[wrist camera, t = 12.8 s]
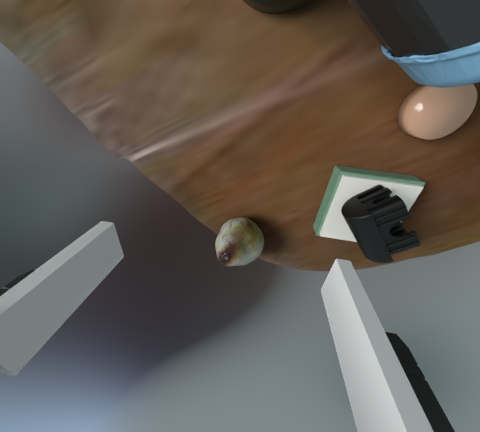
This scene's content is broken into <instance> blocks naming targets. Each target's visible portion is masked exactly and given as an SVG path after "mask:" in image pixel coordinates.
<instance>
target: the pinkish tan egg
mask: <svg viewBox="0 0 480 432" xmlns="http://www.w3.org/2000/svg"><path fill="white" fill-rule="evenodd" d="M476 102H477V90H476V87H475V86H474V84H470V85H464V86H458V87H448V88H436V87H431V86H428V85H420V86H419V87H417V88H416V89H414V90H413V91H412V92H411V93H410V94H409V95H408V96H407V97H406V98H405V100H404V101H403V103H402V104H401V106H400V108H399V111H398V115H397V123H398V126H399V128H400V130H401V131H402V132H403V133H405V134H408V135H411V136H415V137H418V138H422V139H428V140H431V139H438V138H441V137H444V136H446V135H448V134H450V133H452V132H454V131H455V130H456V129H458V128H459V127H460V126H461V125H462V124H463V123H464V122H465V121H466V120H467V119H468V118H469V116H470V115H471V113H472V112H473V110H474V108H475V105H476Z"/></svg>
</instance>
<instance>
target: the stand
mask: <svg viewBox="0 0 480 432" xmlns="http://www.w3.org/2000/svg"><path fill="white" fill-rule="evenodd" d="M425 183H426V182H424V181H422V180H420V179H418V178H417V177H415V176H413V175H405V174H398V173H390V172H382V171H375V170H367V169H360V168H352V167H344V166H337V165H335V167H334V170H333V173H332V175H331V178H330V181H329V184H328V187H327V189H326V192H325V195H324V198H323V200H322V203H321V206H320V209H319V211H318V214H317V217H316V220H315V222H314V225H313V227H314V230H315V233H316V235H317V236H322V237H328V238H335V239H341V240H348V241H354V242H357V241H356V239H355V237H354V235H353V234H352V232H351V230H350V228H349V226H348V224H347V222H346V221H345V219H344V217H343V215H342V213H341V209H342V206H343V204H344V203H345V202H346V201H347V200H348V199H350V198H351V197H353V196H355V195H357V194H359V193H361V192H363V191H366V190H368V189H370V188H372V187H374V186H376V185H379V184H380V185H382V186H384V188H386V187H387V188H388V189H390V190H391V191H392V193H391V194H390V197H392V196H395V195H397V196H399V197H400V198H401V199H402V200H403V201H404V203H405V205H406V208H407V210H408V211H409V209H410V208H411V206H412V205H413V203H414V202H415V200H416V199H417V197H418V196H419V194H420V193H421V191H422V189H423V188H424V187H423V186H424V185H425ZM400 222H402V221H400Z"/></svg>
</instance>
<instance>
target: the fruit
mask: <svg viewBox="0 0 480 432" xmlns="http://www.w3.org/2000/svg"><path fill="white" fill-rule="evenodd" d="M215 245H216V253H217V257H218V260H219V261H220V263H222V264H223V265H225V266H234V265H246V264H248V263H250V262H252V261H254V260H255V259H256V258H257V257H258V256H259V255H260V254H261V252H262V250H263V246H264V237H263V234H262V232H261V230H260V229H259V227H258V226H257V225H256V224H255V223H254V222H253V221H251V220H250V219H249V218H246V217H241V218H233V219H230V220H228V221H227V222H226V223H225V224H224V225H223V226H222V228H221V230H220V233H219V235H218V237H217V239H216V243H215Z"/></svg>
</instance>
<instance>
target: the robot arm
mask: <svg viewBox="0 0 480 432" xmlns="http://www.w3.org/2000/svg"><path fill="white" fill-rule="evenodd" d="M243 1H245V2H246V3H247V4H248V5H250V6H251V7H253V8H255V9H257V10H259V11H262V12H266V13H283V12H287V11H290V10H293V9H295V8H297V7H299V6H300V5H302V4H304V3H305V2H307V1H308V0H243ZM347 2H348V3H349V4H350V5H351V7H352V8H353V9H354V11H355V12H356V13H357V14H358V16H359V17H360V18H361V19H362V21H363V22H364V23H365V25H366V26H367V27H368V28H369V30H370V31H371V32H372V33H373V35H374V36H375V37H376V39H377V40H378V41H379V42H380V44H381V45H382V48H381V50H382V52H383V53H384V55H385V56H386V57H387V58H389V59H391V60H393V61H395V62H397V63H398V65H399V66H400V67H401V68H402V69H403V70H404V71H405V72H406V73H407V75H408V76H409V77H410V78H411V79H412V80H413V81H415V82H417V83H419V84H421V85H428V86H431V87H436V88H448V87H458V86H464V85H470V84H474V83H479V82H480V0H347ZM123 257H124V255H123V252H122V249H121V246H120V242H119V239H118V236H117V232H116V229H115V226H114V223H110V222H104V221H101V222H100V223H99V224H97V225H96V226H94V227H93V228H92V229H90V230H89V231H88V232H86V233H85V234H84V235H83V236H81V237H80V238H78V239H77V240H76V241H74V242H73V243H72V244H70V245H69V246H67V247H66V248H65V249H63V250H62V251H61V252H59V253H58V254H57V255H55V256H54V257H53V258H51V259H50V260H49V261H47V262H46V263H45V264H43V265H42V266H41V267H39V268H38V269H37V270H34V269H33V270H31V271H29V272H27V273H25V274H23V275H21V276H19V277H17V278H16V279H14V280H13V281H11V282H10V283H8V284H7V285H6V286H4V288H3V289H0V373H3V374H8V375H12V376H16V375H17V374H18V372H19V371H20V370H21V369H22V368H23V367H24V366H25V365H26V364H27V363H28V361H29V360H30V359H31V358H32V357H33V356H34V355H35V354H36V353H37V352H38V350H39V349H40V348H41V347H42V346H43V345H44V344H45V343H46V342H47V341H48V339H49V338H50V337H51V336H52V335H53V334H54V333H55V332H56V331H57V330H58V329H59V327H60V326H61V325H62V324H63V323H64V322H65V321H66V320H67V319H68V318H69V316H70V315H71V314H72V313H73V312H74V311H75V310H76V309H77V308H78V306H79V305H80V304H81V303H82V302H83V301H84V300H85V299H86V298H87V297H88V295H89V294H90V293H91V292H92V291H93V290H94V289H95V288H96V287H97V286H98V285H99V284H100V282H101V281H102V280H103V279H104V278H105V277H106V276H107V275H108V274H109V272H110V271H111V270H112V269H113V268H114V267H115V266H116V265H117V264H118V263H119V261H120V260H121V259H122V258H123ZM321 293H322V297H323V301H324V305H325V309H326V313H327V316H328V320H329V324H330V328H331V331H332V335H333V339H334V343H335V346H336V351H337V354H338V358H339V362H340V366H341V370H342V374H343V377H344V381H345V385H346V389H347V393H348V396H349V400H350V404H351V408H352V412H353V415H354V419H355V423H356V427H357V430H358V432H455V431H454V430H453V428H452V426H451V424H450V422H449V421H448V419H447V417H446V415H445V413H444V412H443V410H442V408H441V406H440V404H439V402H438V401H437V399H436V397H435V395H434V393H433V392H432V390H431V388H430V386H429V384H428V383H427V381H425V379H424V378H425V377H424V375H423V373H422V372H421V370H420V368H419V367H418V366H417V363H416V361H415V359H414V357H413V355H412V353H411V352H410V350H409V348H408V347H407V346H406V345H405V344H404V342H403V341H402V340H401V339H400V338H399V337H398V336H397V334H393V333H388V332H385V331H384V329H383V327H382V325H381V323H380V321H379V319H378V317H377V315H376V313H375V311H374V309H373V307H372V305H371V303H370V300H369V298H368V296H367V294H366V292H365V290H364V288H363V286H362V284H361V282H360V280H359V278H358V276H357V274H356V272H355V270H354V268H353V266H352V264H351V262H350V261H348V260H341V259H336V260H335V262H334V264H333V266H332V268H331V270H330V272H329V274H328V276H327V278H326V280H325V283H324V284H323V286H322V288H321Z"/></svg>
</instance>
